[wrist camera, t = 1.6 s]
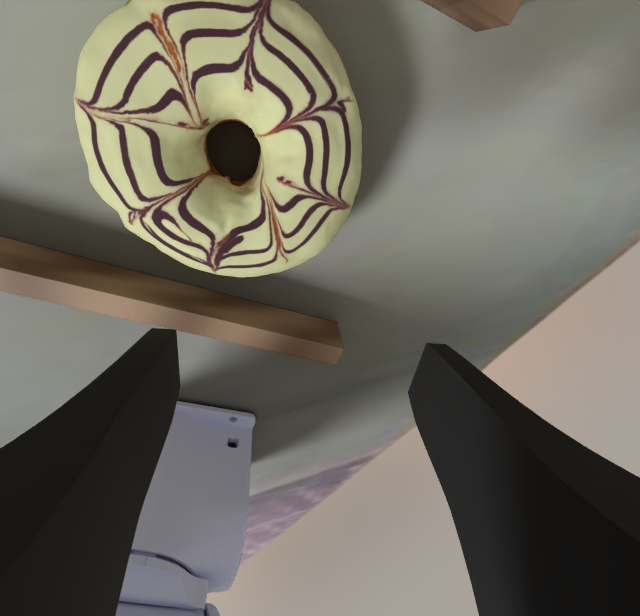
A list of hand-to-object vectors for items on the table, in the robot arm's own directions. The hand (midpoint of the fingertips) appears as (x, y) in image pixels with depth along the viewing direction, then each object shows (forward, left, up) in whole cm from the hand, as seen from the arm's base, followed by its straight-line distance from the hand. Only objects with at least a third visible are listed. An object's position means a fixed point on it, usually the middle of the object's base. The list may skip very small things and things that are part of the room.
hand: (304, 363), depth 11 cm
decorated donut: (+4, -3, -10) cm, 11 cm away
